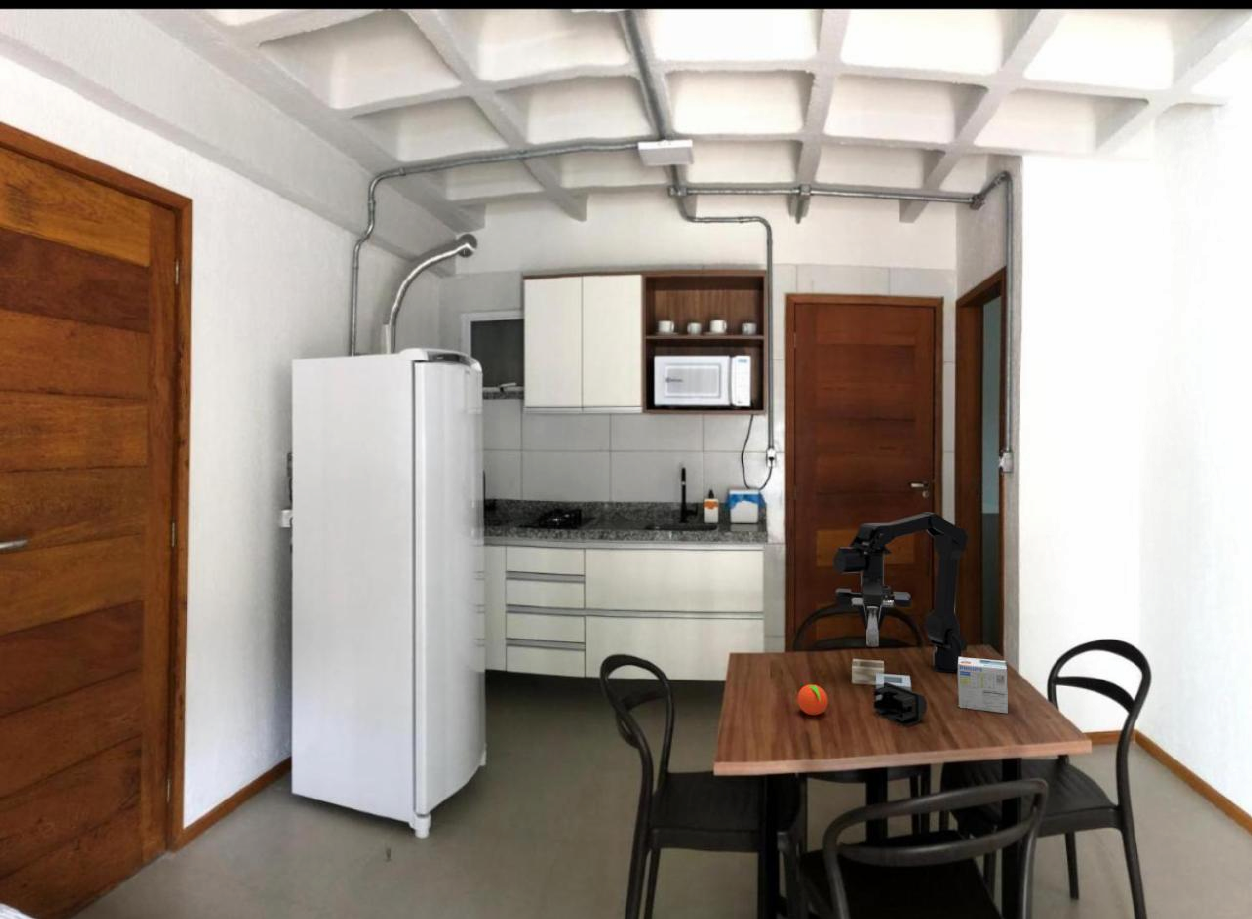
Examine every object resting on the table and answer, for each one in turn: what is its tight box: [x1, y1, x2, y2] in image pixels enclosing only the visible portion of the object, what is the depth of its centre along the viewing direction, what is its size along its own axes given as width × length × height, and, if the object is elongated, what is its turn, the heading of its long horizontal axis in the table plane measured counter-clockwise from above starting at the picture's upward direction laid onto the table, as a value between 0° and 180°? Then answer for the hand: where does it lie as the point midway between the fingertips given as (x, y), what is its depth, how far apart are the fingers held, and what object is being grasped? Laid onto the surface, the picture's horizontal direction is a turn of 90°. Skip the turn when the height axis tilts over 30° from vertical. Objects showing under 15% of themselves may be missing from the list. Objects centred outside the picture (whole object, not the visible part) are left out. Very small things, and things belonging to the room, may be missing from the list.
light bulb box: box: [957, 656, 1009, 714], centre depth 173 cm, size 11×7×11 cm, turn 65°
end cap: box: [872, 682, 928, 727], centre depth 168 cm, size 10×7×7 cm
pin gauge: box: [865, 605, 880, 647], centre depth 193 cm, size 3×3×10 cm
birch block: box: [851, 658, 885, 686], centre depth 194 cm, size 8×8×4 cm
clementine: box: [797, 684, 829, 716], centre depth 170 cm, size 8×7×7 cm
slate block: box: [875, 673, 912, 701], centre depth 181 cm, size 8×8×4 cm
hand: (872, 629), depth 193 cm, fingers closed on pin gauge, 3 cm apart
